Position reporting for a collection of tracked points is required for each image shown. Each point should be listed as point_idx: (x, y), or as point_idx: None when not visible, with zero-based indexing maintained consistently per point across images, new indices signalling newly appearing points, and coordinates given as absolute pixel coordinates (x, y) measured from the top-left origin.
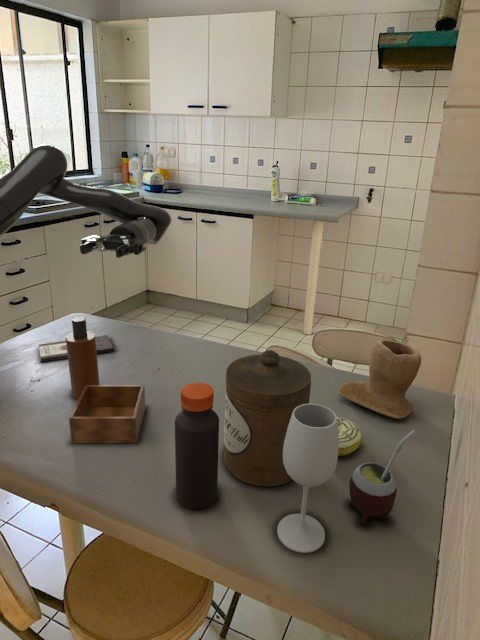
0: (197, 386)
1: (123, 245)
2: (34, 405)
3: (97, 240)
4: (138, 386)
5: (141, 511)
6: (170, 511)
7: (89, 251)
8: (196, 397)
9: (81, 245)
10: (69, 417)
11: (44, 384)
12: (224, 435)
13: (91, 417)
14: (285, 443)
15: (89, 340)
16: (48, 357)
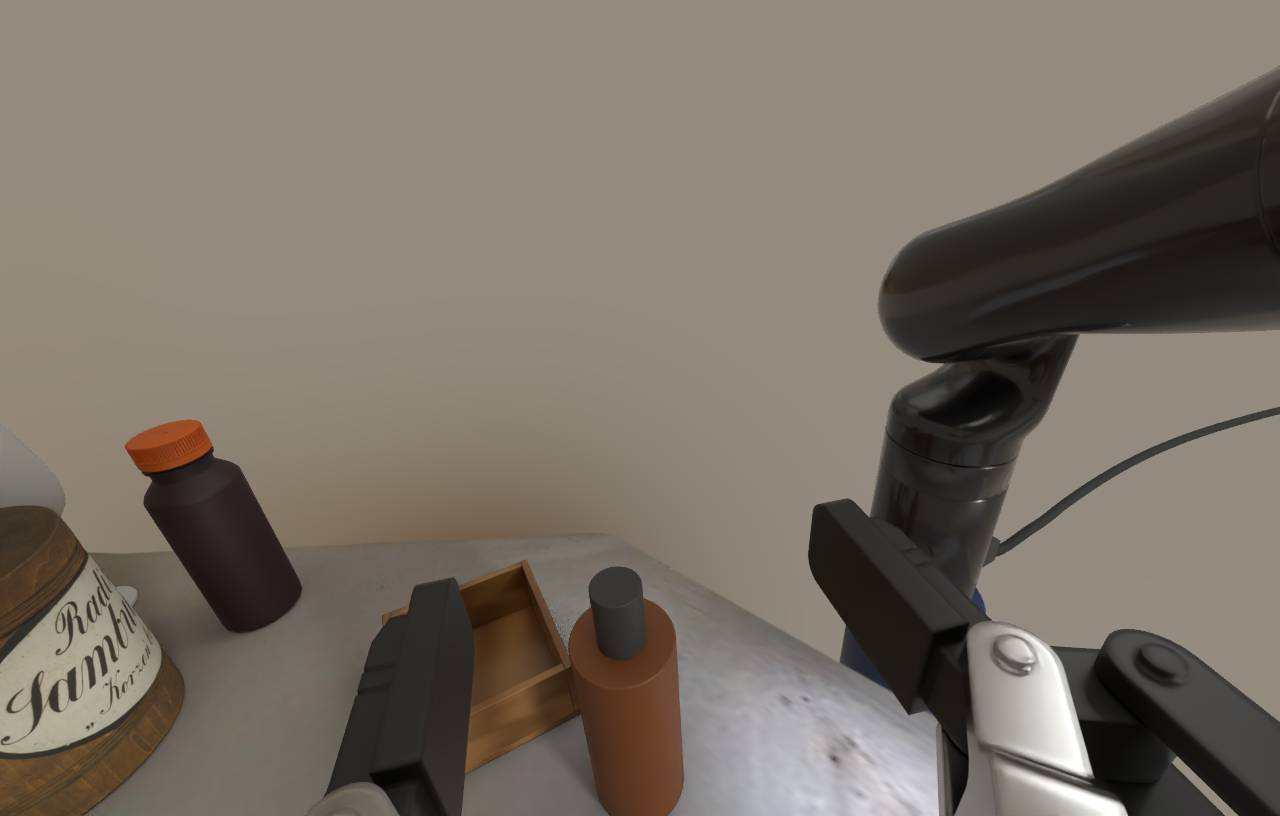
0: (159, 440)
1: (396, 718)
2: (713, 654)
3: (975, 746)
4: None
5: (358, 553)
6: (312, 568)
7: (868, 650)
8: (171, 423)
9: (838, 501)
10: (526, 560)
11: (795, 746)
12: (150, 652)
13: (482, 578)
14: (38, 467)
15: (571, 632)
16: None
